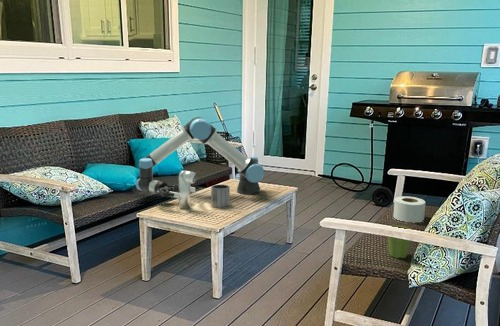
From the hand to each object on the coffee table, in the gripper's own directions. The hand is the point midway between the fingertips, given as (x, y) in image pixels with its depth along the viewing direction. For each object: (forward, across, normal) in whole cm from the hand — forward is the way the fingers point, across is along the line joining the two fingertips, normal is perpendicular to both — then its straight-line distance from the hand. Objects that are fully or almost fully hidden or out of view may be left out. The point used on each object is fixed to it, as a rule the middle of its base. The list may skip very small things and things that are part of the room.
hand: (187, 193), depth 241 cm
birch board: (+5, -7, -10) cm, 14 cm away
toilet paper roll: (+107, -55, -11) cm, 121 cm away
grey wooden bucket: (+12, -15, -9) cm, 21 cm away
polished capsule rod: (-1, 0, -9) cm, 9 cm away
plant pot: (+114, -2, -11) cm, 114 cm away
